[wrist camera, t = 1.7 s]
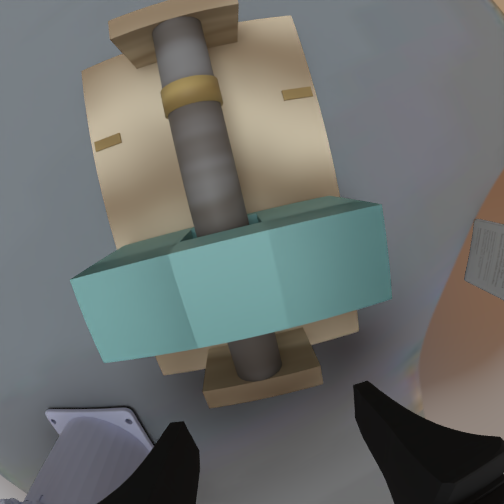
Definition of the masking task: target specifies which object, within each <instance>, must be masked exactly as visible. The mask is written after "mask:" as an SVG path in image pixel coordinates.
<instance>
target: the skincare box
mask: <svg viewBox="0 0 504 504" xmlns="http://www.w3.org/2000/svg"><path fill="white" fill-rule="evenodd" d="M464 280H465V281H467V282H468V283H471V284H472V285H475V286H476V287H478V288H480V289H482V290H484V291H487V292H488V293H490V294H492V295H494V296H496V297H498V298H500V299H502V300H504V224H500V223H495V222H491V221H486V220H481V219H476V220H475V221H474V227H473V235H472V241H471V247H470V254H469V258H468V263H467V267H466V272H465V278H464Z"/></svg>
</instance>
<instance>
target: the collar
mask: <svg viewBox="0 0 504 504" xmlns="http://www.w3.org/2000/svg"><path fill="white" fill-rule="evenodd" d="M247 216H248V220H249V225H247V226H243V227H238V228H234V229H230V230H226V231H222V232H218V233H214V234H210V235H206V236H202V237H198V238H197V236H196V232H195V228H194V227H192V228H188V229H184V230H180V231H177V232H173V233H169V234H165V235H161V236H158V237H154V238H150V239H146V240H143V241H139V242H135V243H132V244H128V245H124V246H123V247H121V248H119V249H118V250H116V251H115V252H113V253H111V254H110V255H108V256H106V257H105V258H103V259H102V260H100V261H98V262H97V263H95V264H94V265H92V266H90V267H89V268H87V269H86V270H84V271H83V272H81V273H80V274H78V275H76V276H75V277H73V278H72V279H70V282H71V284H72V287H73V290H74V293H75V296H76V298H77V301H78V304H79V306H80V309H81V311H82V314H83V316H84V319H85V321H86V324H87V326H88V328H89V331H90V333H91V336H92V338H93V340H94V342H95V345H96V347H97V349H98V351H99V353H100V355H101V358H102V360H103V362H104V363H108V362H116V361H123V360H131V359H138V358H144V357H151V356H157V355H163V354H169V353H175V352H181V351H187V350H192V349H197V348H203V347H208V346H213V345H218V344H223V343H228V342H232V341H237V340H242V339H246V338H251V337H255V336H259V335H264V334H268V333H272V332H276V331H281V330H285V329H289V328H293V327H296V326H300V325H304V324H308V323H312V322H316V321H319V320H323V319H327V318H330V317H334V316H337V315H341V314H344V313H348V312H351V311H354V310H358V309H361V308H364V307H368V306H371V305H374V304H377V303H380V302H384V301H387V300H390V299H392V292H391V278H390V267H389V257H388V248H387V240H386V232H385V224H384V217H383V211H382V204H377V203H371V202H365V201H360V200H354V199H348V198H341V197H335V196H325V197H320V198H315V199H311V200H306V201H302V202H297V203H293V204H288V205H284V206H279V207H275V208H270V209H266V210H262V211H258V212H253V213H249V214H247Z"/></svg>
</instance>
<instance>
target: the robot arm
mask: <svg viewBox="0 0 504 504" xmlns="http://www.w3.org/2000/svg"><path fill="white" fill-rule="evenodd" d="M353 388H354V404H355V418H356V421H357V424H358V427H359V429H360V432H361V434H362V437H363V439H364V440H365V442H366V444H367V446H368V448H369V450H370V451H371V453H372V455H373V457H374V459H375V461H376V462H377V464H378V466H379V468H380V470H381V471H382V473H383V476H384V478H385V480H386V482H387V485H388V487H389V490H390V493H391V495H392V498H393V501H394V504H504V474H503V473H504V440H502V438H501V437H495V436H484V435H476V434H470V433H465V432H461V431H457V430H454V429H450V428H447V427H444V426H441V425H438V424H436V423H433V422H431V421H429V420H427V419H425V418H423V417H421V416H419V415H417V414H415V413H413V412H411V411H410V410H408V409H406V408H405V407H403V406H402V405H400V404H398V403H397V402H395V401H394V400H392V399H391V398H390V397H388V396H387V395H385V394H384V393H383V392H381V391H380V390H379V389H378V388H376V387H375V386H374V385H372V384H371V383H370V382H368V381H365V382H362V383H359V384H355V385H353ZM45 415H46V417H47V418H48V420H49V421H50V423H51V424H52V425H53V427H54V428H55V430H56V431H57V433H58V434H59V435H60V436H59V438H58V439H57V441H56V443H55V444H54V446H53V448H52V450H51V451H50V453H49V455H48V457H47V459H46V460H45V462H44V464H43V466H42V468H41V469H40V471H39V473H38V475H37V477H36V479H35V480H34V482H33V484H32V486H31V488H30V490H29V492H28V494H27V496H26V498H25V500H24V502H19V501H18V500H16V499H14V498H10V499H1V500H0V504H196V496H197V489H198V480H199V472H200V458H199V449H198V447H197V446H196V444H195V442H194V440H193V438H192V436H191V435H190V433H189V431H188V429H187V427H186V425H185V423H184V421H182V422H173V423H170V424H169V425H168V427H167V428H166V430H165V431H164V433H163V434H162V436H161V437H160V439H159V440H158V441H157V443H156V444H155V446H154V445H153V444H152V442H151V441H150V439H149V438H148V436H147V434H146V433H145V431H144V430H143V428H142V426H141V425H140V423H139V421H138V420H137V418H136V416H135V414H134V413H133V411H132V410H130V409H128V408H106V409H47V411H46V412H45ZM128 419H130V420H128Z"/></svg>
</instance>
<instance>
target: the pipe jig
mask: <svg viewBox="0 0 504 504" xmlns="http://www.w3.org/2000/svg"><path fill="white" fill-rule="evenodd" d="M108 24H109V34H110V40H111V41H112V42H113V43H114V44H115V45H116V47H117V48H118V49H119V50H120V51H121V52H122V53H123V54H121V55H118V56H116V57H113V58H111V59H108V60H106V61H104V62H101V63H99V64H96V65H94V66H92V67H90V68H87V69H85V70H83V71H82V81H83V90H84V98H85V105H86V113H87V119H88V126H89V132H90V138H91V143H92V149H93V154H94V159H95V164H96V169H97V173H98V178H99V183H100V187H101V191H102V195H103V200H104V204H105V208H106V212H107V215H108V219H109V223H110V227H111V230H112V234H113V237H114V241H115V244H116V248H117V250H118V249H119V248H121V247H123V246H124V245H128V244H132V243H135V242H139V241H143V240H146V239H150V238H154V237H158V236H161V235H165V234H169V233H173V232H177V231H180V230H184V229H188V228H192V227H194V228H195V232H196V236H197V238H198V237H202V236H206V235H210V234H214V233H218V232H222V231H226V230H230V229H234V228H238V227H243V226H247V225H249V220H248V216H247V214H249V213H253V212H258V211H262V210H266V209H270V208H275V207H279V206H284V205H288V204H293V203H297V202H302V201H306V200H311V199H315V198H320V197H325V196H335V197H340V194H339V189H338V184H337V179H336V174H335V170H334V165H333V160H332V156H331V151H330V147H329V143H328V139H327V134H326V130H325V126H324V122H323V118H322V115H321V111H320V107H319V103H318V100H317V96H316V92H315V89H314V85H313V82H312V78H311V75H310V72H309V68H308V65H307V62H306V59H305V55H304V52H303V49H302V46H301V43H300V40H299V37H298V34H297V31H296V28H295V25H294V22H293V20H292V17H291V16H281V17H272V18H264V19H256V20H250V21H243V22H238V0H168V1H165V2H161V3H158V4H155V5H151V6H148V7H145V8H142V9H139V10H136V11H134V12H131V13H128V14H125V15H123V16H120V17H117V18H115V19H112V20H110V21H108ZM358 331H359V326H358V315H357V310H354V311H351V312H348V313H344V314H341V315H337V316H334V317H330V318H327V319H323V320H319V321H316V322H312V323H308V324H304V325H300V326H296V327H293V328H289V329H285V330H281V331H276V332H272V333H268V334H264V335H259V336H255V337H251V338H246V339H242V340H237V341H232V342H228V343H223V344H218V345H213V346H208V347H203V348H197V349H192V350H187V351H181V352H175V353H169V354H163V355H157V356H155V357H156V359H157V361H158V364H159V366H160V368H161V371H162V373H163V375H170V374H177V373H183V372H189V371H195V370H201V369H205V377H204V384H203V391H202V392H203V394H204V397H205V399H206V401H207V404H208V406H209V408H216V407H222V406H228V405H234V404H239V403H245V402H250V401H255V400H260V399H264V398H269V397H273V396H278V395H282V394H286V393H291V392H295V391H299V390H303V389H306V388H310V387H314V386H317V385H321V384H323V379H322V372H321V366H320V364H319V361H318V359H317V357H316V355H315V353H314V350H313V348H312V346H311V345H313V344H317V343H321V342H324V341H328V340H331V339H335V338H338V337H342V336H345V335H348V334H352V333H355V332H358Z"/></svg>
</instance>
